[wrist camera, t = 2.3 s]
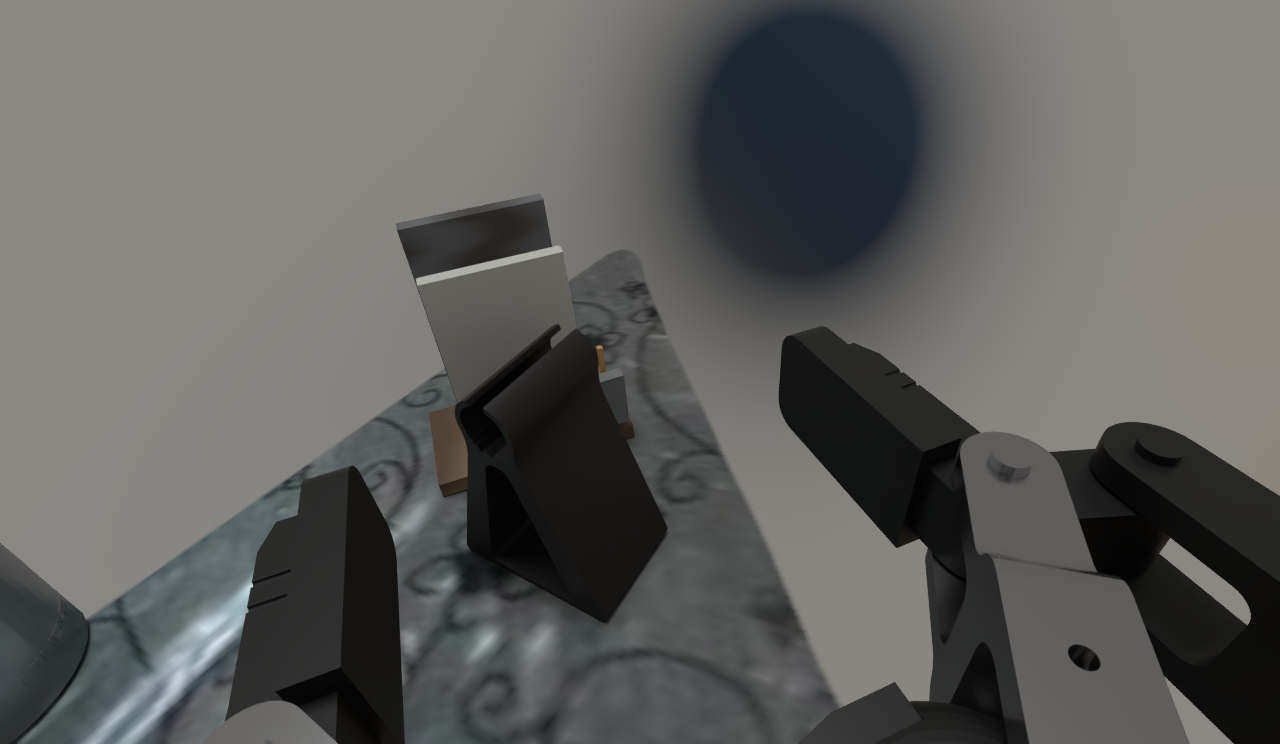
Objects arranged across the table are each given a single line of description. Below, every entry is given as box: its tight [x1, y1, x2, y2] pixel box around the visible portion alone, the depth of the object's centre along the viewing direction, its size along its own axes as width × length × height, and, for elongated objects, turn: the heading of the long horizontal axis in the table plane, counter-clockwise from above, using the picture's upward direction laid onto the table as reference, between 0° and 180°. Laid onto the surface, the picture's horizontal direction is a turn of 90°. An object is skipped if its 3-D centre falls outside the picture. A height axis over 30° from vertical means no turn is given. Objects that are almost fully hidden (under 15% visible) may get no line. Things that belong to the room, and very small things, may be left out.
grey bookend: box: [396, 194, 634, 497], centre depth 35 cm, size 12×7×14 cm, turn 110°
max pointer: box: [597, 345, 606, 373], centre depth 37 cm, size 1×1×5 cm
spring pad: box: [416, 245, 629, 424], centre depth 32 cm, size 9×1×12 cm, turn 110°
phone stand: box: [455, 324, 667, 622], centre depth 28 cm, size 9×6×12 cm, turn 58°
